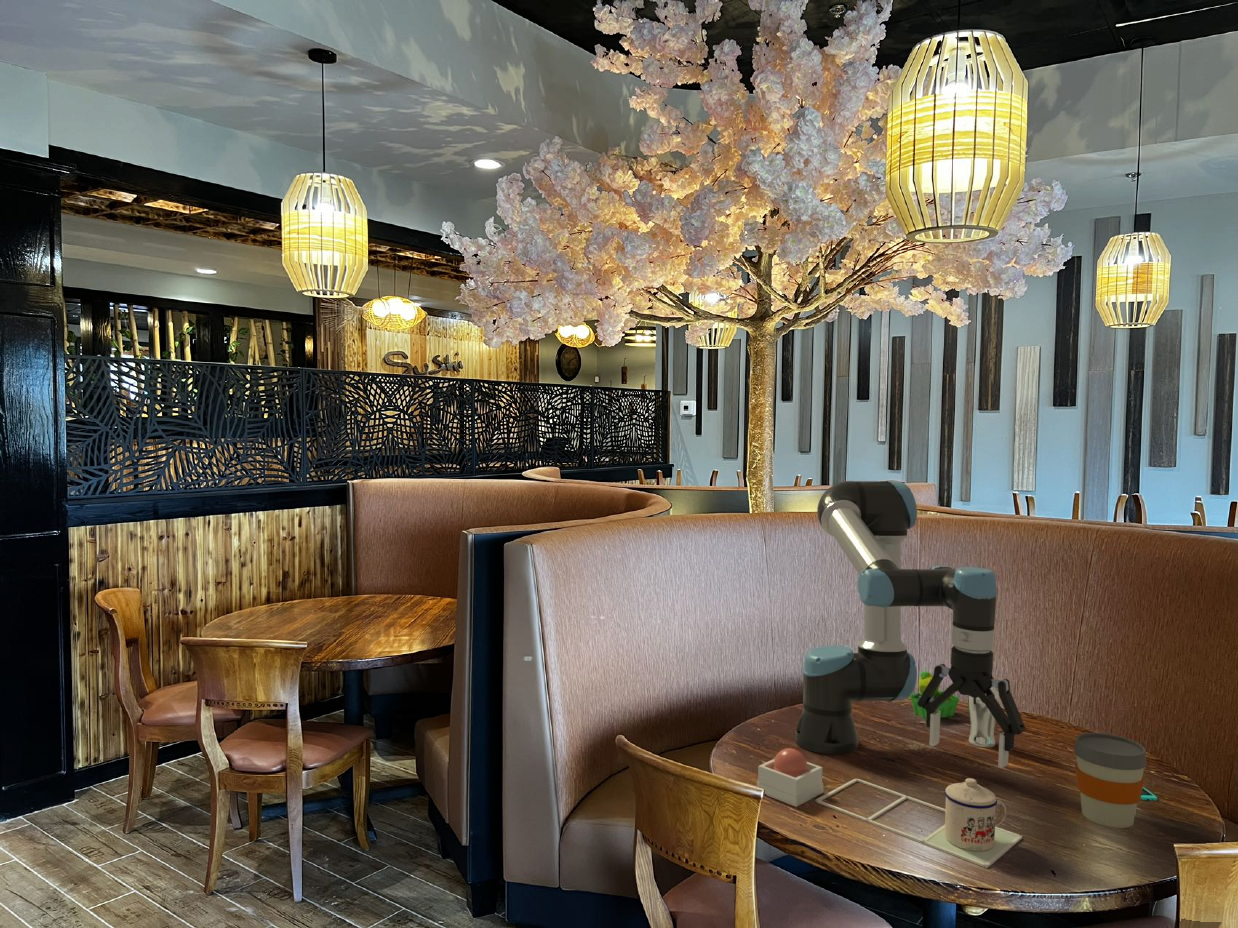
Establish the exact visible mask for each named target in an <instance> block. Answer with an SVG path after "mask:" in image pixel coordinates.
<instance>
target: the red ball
mask: <svg viewBox="0 0 1238 928" xmlns="http://www.w3.org/2000/svg"><path fill="white" fill-rule="evenodd" d="M773 759H774V770H776V771H779V772H781V773H784V774H787V775H789V776H792V777H795V778H796V777H798V776H800V775H802V774H804V773H806V772H807V762H808V761H807V759H806V758H805V756H804V754H803V753H801V752H800V751H799V750H797V749H795V748H791V747H788V748H783V749H781V750H780V751H778V753H776V756H775V757H774V758H773Z"/></svg>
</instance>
